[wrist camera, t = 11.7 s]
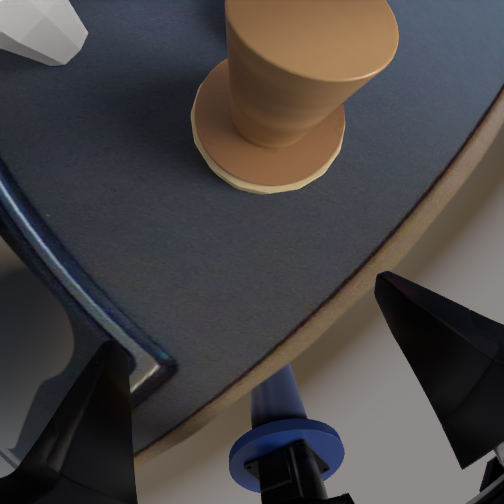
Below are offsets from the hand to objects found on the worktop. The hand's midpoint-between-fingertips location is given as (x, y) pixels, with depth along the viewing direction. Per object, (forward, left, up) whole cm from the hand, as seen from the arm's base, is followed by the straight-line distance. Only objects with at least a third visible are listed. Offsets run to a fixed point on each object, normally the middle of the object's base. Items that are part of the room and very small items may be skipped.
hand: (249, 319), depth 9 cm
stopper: (+6, -5, -9) cm, 12 cm away
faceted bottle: (+24, +4, -12) cm, 27 cm away
